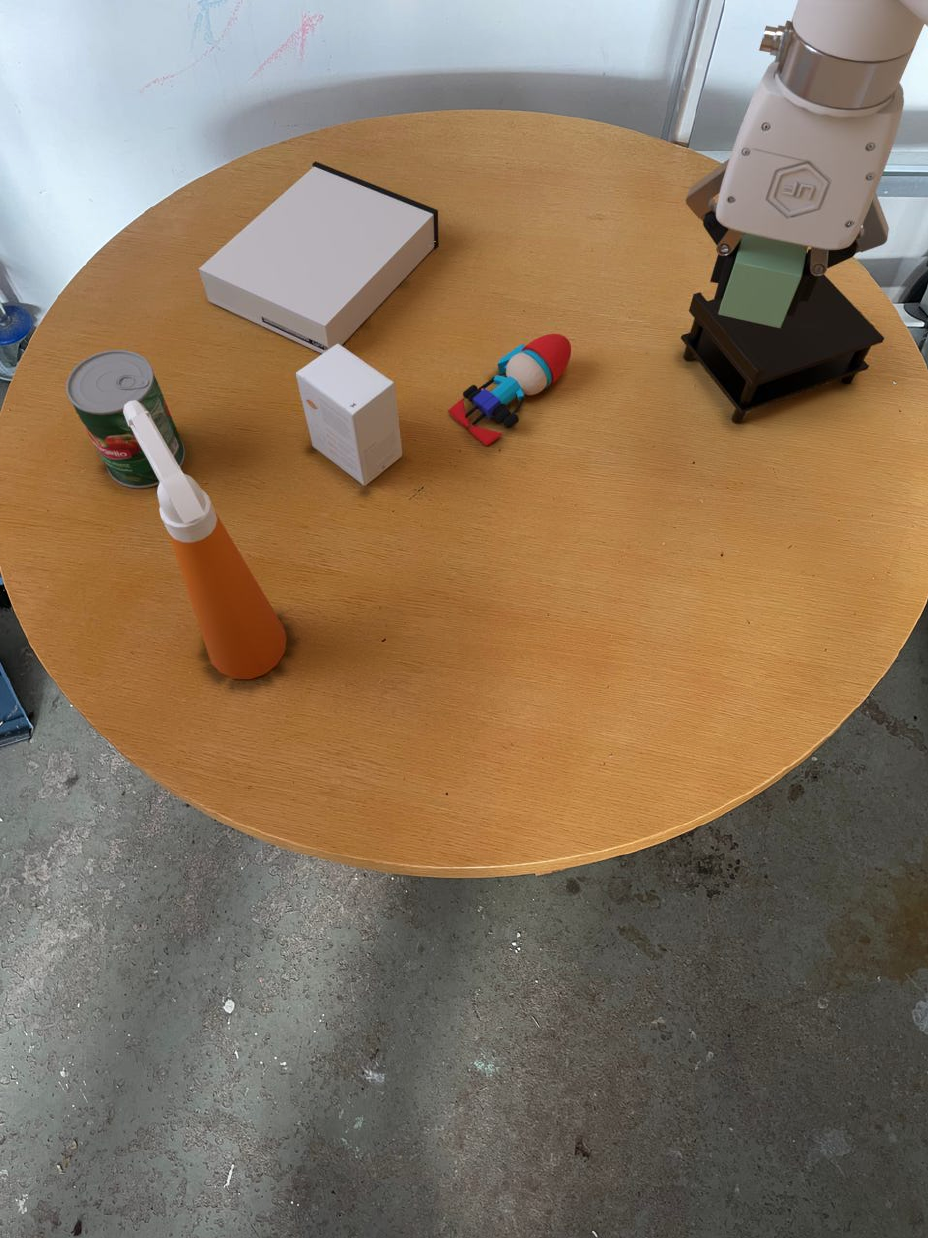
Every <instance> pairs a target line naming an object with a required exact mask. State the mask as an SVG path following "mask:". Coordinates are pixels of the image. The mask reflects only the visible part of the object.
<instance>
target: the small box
mask: <svg viewBox="0 0 928 1238" xmlns="http://www.w3.org/2000/svg"><path fill="white" fill-rule="evenodd" d="M295 378H296V382H297V387H298V391H299V395H300V399H301V404H302V408H303V412H304V416H305V420H306V424H307V428H308V432H309V438H310V441H311V445H312V447H313V448H314V449H315V450H317V451H318V452H320V453H321V454H322V455H323V456H325V457H326V458H327V459H328V460H330V461H331V462H332V463H334V464H335V465H336V466H337V467H339V468H340V469H341V470H343V471H344V472H345V473H347V474H348V475H349V476H350V477H352V478H353V479H355V481H357V482H358V483H359V484H361V485H362V486H363V487H366V486H367V485H369V484H370V483H371V482H372V481H374V480H375V479H376V478H377V477H378V476H380V475H381V474H382V473H383V472H384V471H386V470H387V469H388V468H389V467H391V466H392V465H393V464H394V463H396V462H397V461H398V460H399V459H400V458H402V457H403V448H402V447H403V446H402V439H401V429H400V420H399V410H398V402H397V393H396V392H397V391H396V383H395V382H394V380H391V379H390V378H389V377H387V376H386V375H384V374H383V373H382V372H380V371H378V370H377V369H375V368H374V367H373V366H372V365H370V364H368V363H367V362H366V361H364V360H363V359H362V358H360V357H358V355H355V354H354V353H353V352H351V351H350V350H348V349H347V348H346V347H345V346H343V345H342V346H341V345H340V344H336V345H335V346H333V347H332V348H330V349H329V350H327V351H326V352H325V353H323V354H322V353H321V354H320V355H319V356H317V357H316V358H315V359H313V360H312V361H310V362H308V363H307V364H306V365H304V366H303V367H302V368H300V369H299V370H297V371H296V372H295Z"/></svg>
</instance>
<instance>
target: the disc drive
mask: <svg viewBox="0 0 928 1238" xmlns="http://www.w3.org/2000/svg"><path fill="white" fill-rule="evenodd" d="M311 166H312V167H311V169H309V170H308V171H307V172H306V173H305V174H304V175H303V176H301V177H300V178H299V179H298V180H297V181H296V182H295V183H294V184H292V185H291V186H290V187H289V188H288V189H287V190H285V191H284V192H283V193H282V194H281V195H280V196H279V197H277V199H276V200H274V201H273V202H272V203H271V204H270V205H269V206H268V207H266V208H265V209H264V210H263V211H262V212H261V213H260V214H258V215H257V216H256V217H255V218H254V219H253V220H252V221H250V222H249V223H248V224H247V225H246V226H245V227H244V228H243V229H242V230H240V231H239V232H238V233H237V234H236V235H235V236H234V237H233V238H231V239H230V241H228V242H226V244H225V245H223V247H221V248H220V249H219V250H218V251H216V253H214V255H212V256H211V257H210V258H209V259H208V260H206V261H205V263H203V264H202V265H201V266H200V267H199V268H198V272H199V275H200V278H201V281H202V285H203V288H204V291H205V295H206V298H207V301H208V302H209V303H211V304H214V305H216V306H217V307H220V308H221V309H224V310H226V311H228V312H231V313H233V314H235V315H237V316H240V317H241V318H244V319H246V320H248V321H250V322H253V323H255V324H256V325H259V326H261V327H263V328H265V329H268V330H269V331H271V332H274V333H276V334H278V335H281V336H283V337H285V338H287V339H289V340H291V341H293V342H295V343H298V344H300V345H301V346H304V347H307V348H308V349H310V350H313V351H315V352H317V353H318V354H319V353H320V354H321V355H322V354H323V353H325V352H326V351H327V350H329V349H330V348H332V347H333V346H335V345H336V344H340V345H341V346H343V345H344V343H346V342H347V340H348V339H349V338H351V336H352V335H353V334H354V333H355V332H356V331H357V330H358V329H359V328H360V326H361V325H362V324H363V323H364V322H365V321H366V320H368V318H369V317H370V316H371V315H372V314H373V313H374V312H375V311H376V310H377V309H378V308H379V306H381V304H382V303H383V302H384V301H385V300H386V299H388V297H389V296H390V295H391V294H392V293H393V291H395V290H396V288H397V287H398V286H399V285H401V283H402V282H403V281H404V280H405V279H406V278H407V277H408V276H409V275H410V274H411V272H412V271H414V269H416V268H417V266H418V265H420V263H421V262H422V261H423V260H424V259H425V258H426V257H427V256H428V255H429V253H430V252H431V251H432V250H433V249H434V250H437V249H438V248H439V246H440V245H439V241H440V240H439V210H438V209H436V208H435V207H431V206H430V205H426V204H424V203H421V202H419V201H416V200H414V199H411V198H409V197H407V196H404V195H401V194H399V193H396V192H394V191H391V190H388V189H387V188H383V187H381V186H379V185H376V184H373V183H371V182H369V181H366V180H363V179H362V178H358V177H356V176H354V175H351V174H348V173H346V172H343V171H341V170H338V169H336V168H334V167H331V166H328V165H326V164H323V163H321V162H319V161H314V162H312V164H311ZM434 241H436V242H434ZM430 245H431V246H430ZM429 246H430V247H429Z"/></svg>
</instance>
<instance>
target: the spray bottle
mask: <svg viewBox="0 0 928 1238" xmlns="http://www.w3.org/2000/svg"><path fill="white" fill-rule="evenodd" d="M123 413H124V416H125V418H126V421H127V424H128V426H129V427H131V429H132V431H133V433H134V435H135V437H136V439H137V441H138V443H139V445H140V446H141V448H142V450H143V452H144V454H145V455H146V457H147V459H148V461H149V463H150V465H151V466H152V468H153V470H154V472H155V474H156V476H157V478H158V480H159V481H160V483H159V485H157V491H156V494H157V500H158V503H159V510H158V512H159V515H160V518H161V521H162V523H163V525H164V526H165V528H166V530H167V533H168V536H169V540H170V542H171V545H172V548H173V552H174V555H175V557H176V558H175V559H176V561H177V564H178V567H179V570H180V573H181V577H182V579H183V582H184V586H185V588H186V591H187V595H188V597H189V600H190V603H191V607H192V610H193V613H194V615H195V618H196V621H197V624H198V628H199V630H200V634H201V636H202V640H203V643H204V646H205V648H206V652H207V654H208V658H209V661H210V664H211V665H212V666H213V667H214V668H215V669H216V670H217V671H218V672H219V673H220V674H222V675H224V676H226V677H229V678H231V679H234V680H252V679H255V678H258V677H260V676H264V675H266V674H267V673H268V672H270V671H271V670H273V669H274V668H275V667H276V666H278V664H279V662H280V661H281V659H282V657H283V656H284V654H285V652H286V648H287V647H286V646H287V640H288V637H287V634H286V631H285V628H284V626H283V624H282V621H281V620H280V618H279V616H278V615H277V613H276V611H275V610H274V608H273V606H272V605H271V602H270V601H269V600H268V598H267V596H266V595H265V592H264V591H263V589H262V588H261V586H260V584H259V583H258V581H257V580H256V578H255V576H254V574H253V573H252V571H251V569H250V567H249V566H248V564H247V562H246V561H245V559H244V557H243V556H242V553H241V552H240V551H239V549H238V546H237V545H236V544H235V542H234V540H233V538H232V537H231V535H230V534H229V532H228V531H227V529H226V527H225V525H224V524H223V521H222V520H221V518H220V517H219V515H218V513H217V512H216V511H215V508H214V505H213V503H212V500H211V498H210V496H209V495H208V494H207V493H206V492H205V491H204V490H203V489H201V486H200V484H198V482H197V481H196V480H195V479H194V478H193V477H192V476H191V475H189V474H185V473H184V472H183V470H182V469H181V468H180V467H179V465H178V464H177V462H176V460H175V458H174V457H173V455H172V453H171V451H170V450H169V448H168V446H167V444H166V443H165V441H164V439H163V437H162V436H161V434H160V432H159V430H158V429H157V427H156V425H155V423H154V422H153V420H152V418H151V417H152V416H151V415H150V414H149V412H148V411H147V410H146V408H145V407H144V406H143V405H142V404H141V403H139V402H138V401H136V400H134V401H129V402H128V403H126V404H125V405H124V409H123Z"/></svg>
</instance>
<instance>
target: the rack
mask: <svg viewBox="0 0 928 1238" xmlns="http://www.w3.org/2000/svg"><path fill="white" fill-rule="evenodd" d="M721 302H722V299H721V300H715V299H714V298H712V299H710V300H707V299H706V298H705V296H704V295H703V293H701V292H696V293H693V296H692V299H691V301H690V305H689V309H688V311H689V313H690V314H691V316H692V317H693V322H692V324H691V328H690V331H689V332H686V333H683V334H681V336H680V340H681V341H682V342H683V343H684V345H685V348H684V352H683V355H682V358H683V360H684V361H686V362H692V361H694V359H696V360H697V362H698V363H699V364H700V365H701V367H703V369H704V370H705V372H706V373H707V374H708V375H709V377H710V378H711V379H712V380H713V381H714V383H715V384H716V385H717V387H718V388H719V389H720V390H721V392H722V393H723V394H724V395H725V396H726V398H727V400H728V401H729V402H730V403H731V404H732V406H733V407H734V408H735V409H734V411H733V414H732V416H731V421H732V422H733V423H734V424H736V425H740V424H742V423H743V422H744V419H745V417H746V415H747V413H749V412H752V411H754V410H756V409H759V408H762V407H765V406H768V405H770V404H771V405H772V404H774V403H776V402H779V401H782V400H784V399H788V398H791V397H793V396H796V395H799V394H802V393H805V392H808V391H811V390H812V389H816V388H818V387H819V388H820V387H821V386H825V385H827V384H830V383H833V382H835V381H839V380H840V382H841V384H843V385H845V386H850V385H851V384H852V383H853V381H854V379H855V378H856V376H857V374H859V373H861V372H864V371H867V370H868V369H869V367H870V365H869V364H868V363H867V362H866V360H865V359H866V358H867V356H868V354H869V352H870V351H871V349H872V347H873V346H877V345H878V344H882V343H883V342H884V340H885V337H884V335H882V334H881V332H879V330H878V329H877V328H876V327H875V326H874V325H873V324H872V323H871V322H870V321H869V319H867V318H866V317H865V315H863V314H862V312H861V311H859V309H858V308H857V307H856V306H855V305H854V304H853V303H852V302H851V301H850V300H849V299H848V298H847V297H846V296H845V295H844V294H843V292H841V290H840V289H839V288H838V287H837V286H836V285H835V284H834V283H833V282H832V281H831V280H830V278H828V277H827V276H826V275H825V274H823V275H821V276H819V277H818V279H817V281H816V284H815V286H814V288H813V291H812V293H811V295H810V298H809V300H808V302H807V303H805V302H799V304H798V306H797V309H796V311H795V313H794V316H793V317H792V316H787V314H786V316H785V318H784V321H783V323H782V326H781V328H777V327H772V326H768V325H763V324H759V323H754V322H750V321H745V320H741V319H736V318H732V317H728V316H723V315H719V310H720V306H721Z"/></svg>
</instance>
